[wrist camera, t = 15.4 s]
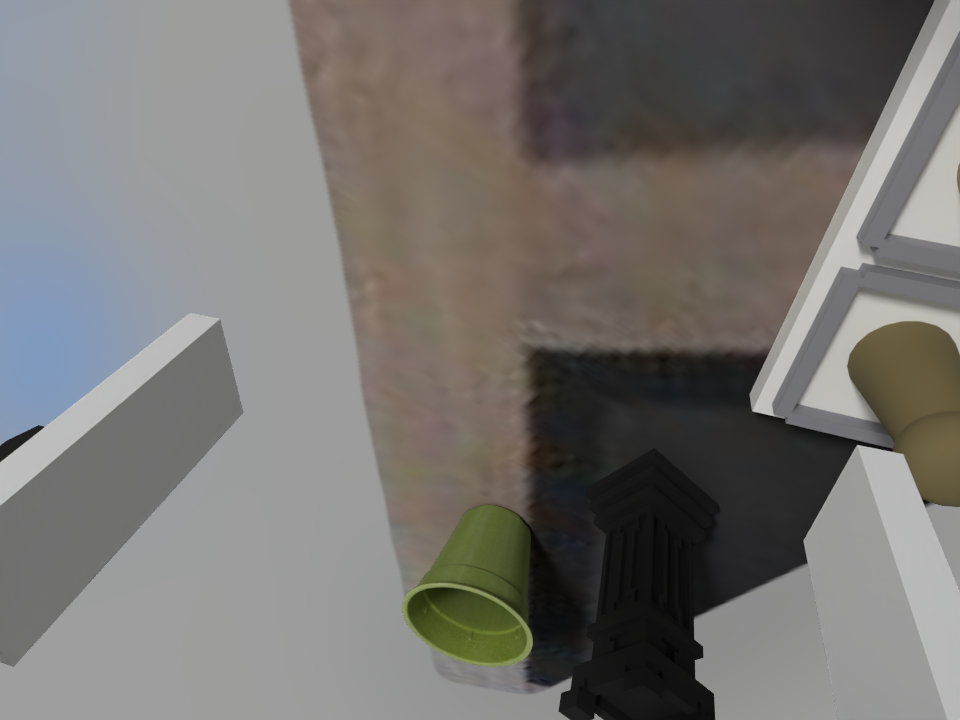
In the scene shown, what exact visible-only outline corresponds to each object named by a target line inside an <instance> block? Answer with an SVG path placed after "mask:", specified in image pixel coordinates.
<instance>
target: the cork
mask: <svg viewBox="0 0 960 720" xmlns="http://www.w3.org/2000/svg"><path fill="white" fill-rule="evenodd" d="M847 368H848V373H849V377H850V379H851V380H852V382H853V383H854V385H855V386H856V387H857V389H858V390H859V392H860V393H861V395H862V396H863V398H864V399H865V400H866V402H867V403H868V405H869V406H870V408H871V409H872V411H873V412H874V414H875V415H876V416H877V418H878V419H879V421H880V422H881V424H882V425H883V427H884V428H885V429H886V431H887V432H888V434H889V435H890V437H891V438H892V440H893V441H894V442H895V443H894V447H893V452H895V453H900V454H903V455H904V457H905V460H906V462H907V464H908V467H909V469H910V472H911V474H912V477H913V479H914V481H915V484H916V486H917V489H918V491H919V494H920V496H921V498H922V499H924V500H926V501H928V502H932V503H935V504H938V505H942V506H954V507H960V354H959V351H958V348H957V346H956V343H955V342H954V340H953V339H952V337H951V336H950V335H949V333H947V332H946V331H944V330H943V329H941V328H940V327H938V326H936V325H933V324H929V323H925V322H921V321H902V322H897V323H893V324H888V325H885V326H882V327H880V328H878V329H876V330H874V331H872V332H870V333H868V334H867V335H866V336H865V337H864V338H862V339H861V340H860V341H859V342H858V343H857V344H856V345H855V347H854V348H853V350H852V352H851V353H850V355H849V360H848V364H847Z"/></svg>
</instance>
